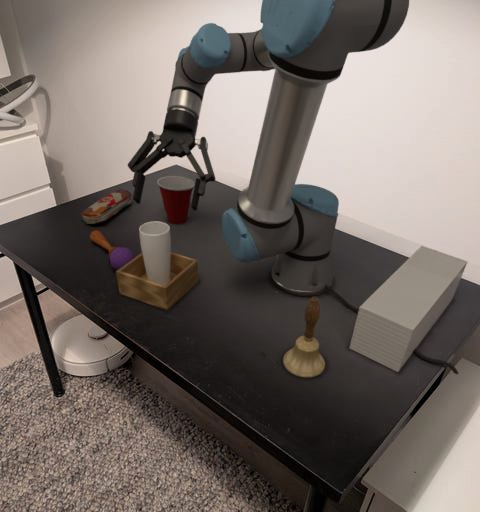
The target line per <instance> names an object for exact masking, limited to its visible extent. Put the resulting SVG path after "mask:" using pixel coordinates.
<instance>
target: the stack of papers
mask: <svg viewBox="0 0 480 512" xmlns="http://www.w3.org/2000/svg"><path fill="white" fill-rule="evenodd" d="M467 264H468V260H464V259H461V258H459V257H456V256H453V255H451V254H447V253H445V252H441V251H438V250H436V249H432V248H430V247H427V246H424V245H420V246H419V248H418V249H417V250H416V251H414V253H413V254H411V255H410V256H409V257H408V259H406V260H405V261H404V262H403V264H402V265H401V266H400V267H399V268H397V269H396V270H395V272H393V273H392V274H391V275H390V276H389V277H388V278H387V279H386V280H385V281H384V282H383V283H382V284H381V285H380V286H379V287H378V288H377V289H376V290H374V292H373V293H372V294H371V295H369V297H368V298H367V299H365V301H363V303H362V304H361V305H360V306H359V308H358V309H359V311H358V312H357V316H356V320H355V325H354V328H353V332H352V337H351V339H350V344H349V349H350V350H351V351H354V352H355V353H358V354H360V355H362V356H364V357H366V358H368V359H371V360H372V361H374V362H376V363H378V364H380V365H382V366H384V367H386V368H389V369H390V370H391V371H394V372H397V373H399V372H400V371H401V369H402V368H403V367H404V365H405V364H406V363H407V361H408V360H409V359H410V357H411V356H412V354H414V352H413V351H414V349H415V348H416V349H417V348H418V347H419V345H420V344H421V343H422V341H423V340H424V339H425V337H426V336H427V335H428V333H429V332H430V331H431V329H432V328H433V326H434V325H435V324H436V323H437V321H438V320H439V318H440V317H441V316H442V314H443V313H444V312H445V310H446V309H447V308H448V306H449V305H450V303H451V302H452V301H453V299H454V297H455V294H456V291H457V289H458V286H459V284H460V281H461V279H462V276H463V274H464V272H465V269H466V267H467Z"/></svg>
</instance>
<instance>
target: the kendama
mask: <svg viewBox="0 0 480 512" xmlns="http://www.w3.org/2000/svg"><path fill="white" fill-rule="evenodd" d="M89 238H90V240H91V241H92V242H93V243H95V244H96V245H98V246H100V247H102V248H103V249H104V250H106V251H108V259H109V262H110V263H109V264H110V266H112V268H113V269H114V270H115V271H117V270H119V269H120V268H122V267H123V266H124V265H126V264H127V263H128V262H130V261H131V260H132V259H134V258H135V254H134V253H133V251H132V250H131V249H129V248H127V247H124V246H112V245H111V244H110V243H109V241H108V240H107V239H106V237H105V236H104V235H103V233H102V232H101V231H99V230H94V231H92V232H91V233H90V235H89Z"/></svg>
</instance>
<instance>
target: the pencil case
mask: <svg viewBox="0 0 480 512" xmlns="http://www.w3.org/2000/svg"><path fill="white" fill-rule="evenodd" d="M132 195H133V193H132V192H131V191H130V190H128V189H125V188H124V189H123V188H122V189H121V188H120V189H117V190H116V191H113V192H111V193H109V194H107V195H106V196H104V197H102V198H100V199H99V200H97V201H96V202H94V203H93V204H92V205H90V206H88V207H87V208H85V209H84V210H83V211H82V212H81V213H80V214H81V217H82V220H83V221H84V222H85V223H86V224H87V225H95V224H100V223H103V222H106V221H107V220H108V219H110V218H111V217H113V216H115V215H116V214H117V213H119V212H120V211H122V210H124V208H126V207H128V206H129V205H131V204H132V201H133V199H131V198H132V197H133V196H132Z"/></svg>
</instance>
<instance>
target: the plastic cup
mask: <svg viewBox="0 0 480 512" xmlns="http://www.w3.org/2000/svg"><path fill="white" fill-rule="evenodd" d="M195 182H196V181H194V180H193V179H191V178H189V177H185V176H179V175H168V176H167V175H166V176H162V177H160V178H158V179H157V181H156V183H157V185H158V187H159V192H160V194H161V199H162V203H163V204H162V205H163V208H164V211H165V215H166V219H167V221H168V223H170V224H172V225H173V224H174V225H181V224H185V223H186V222H187V221H188V217H189V212H190V207H191V200H192V195H193V191H194V187H195Z"/></svg>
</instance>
